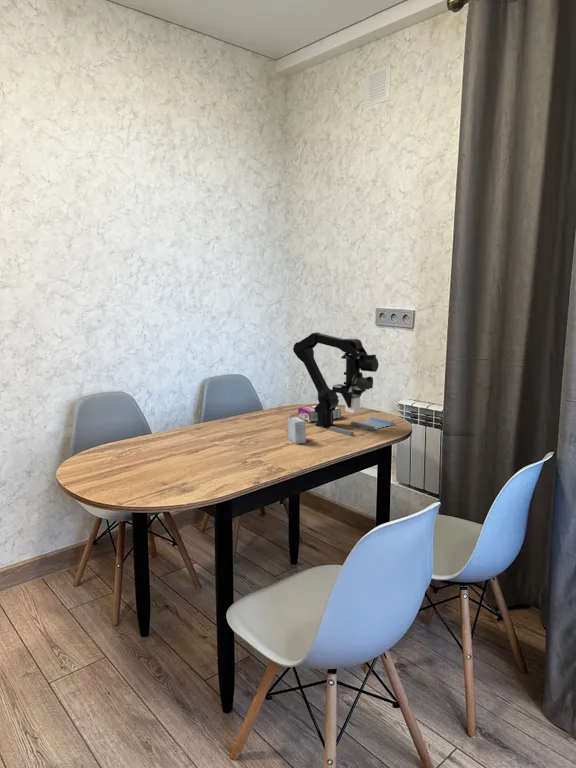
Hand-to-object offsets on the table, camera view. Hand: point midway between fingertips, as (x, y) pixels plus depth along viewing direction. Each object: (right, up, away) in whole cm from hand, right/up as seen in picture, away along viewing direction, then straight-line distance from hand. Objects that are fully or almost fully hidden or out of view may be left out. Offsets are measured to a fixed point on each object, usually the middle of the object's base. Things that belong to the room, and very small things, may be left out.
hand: (352, 407), depth 220 cm
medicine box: (-23, -13, -14) cm, 30 cm away
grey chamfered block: (0, -2, 0) cm, 2 cm away
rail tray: (+5, -9, +6) cm, 12 cm away
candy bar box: (-20, -5, +19) cm, 28 cm away
